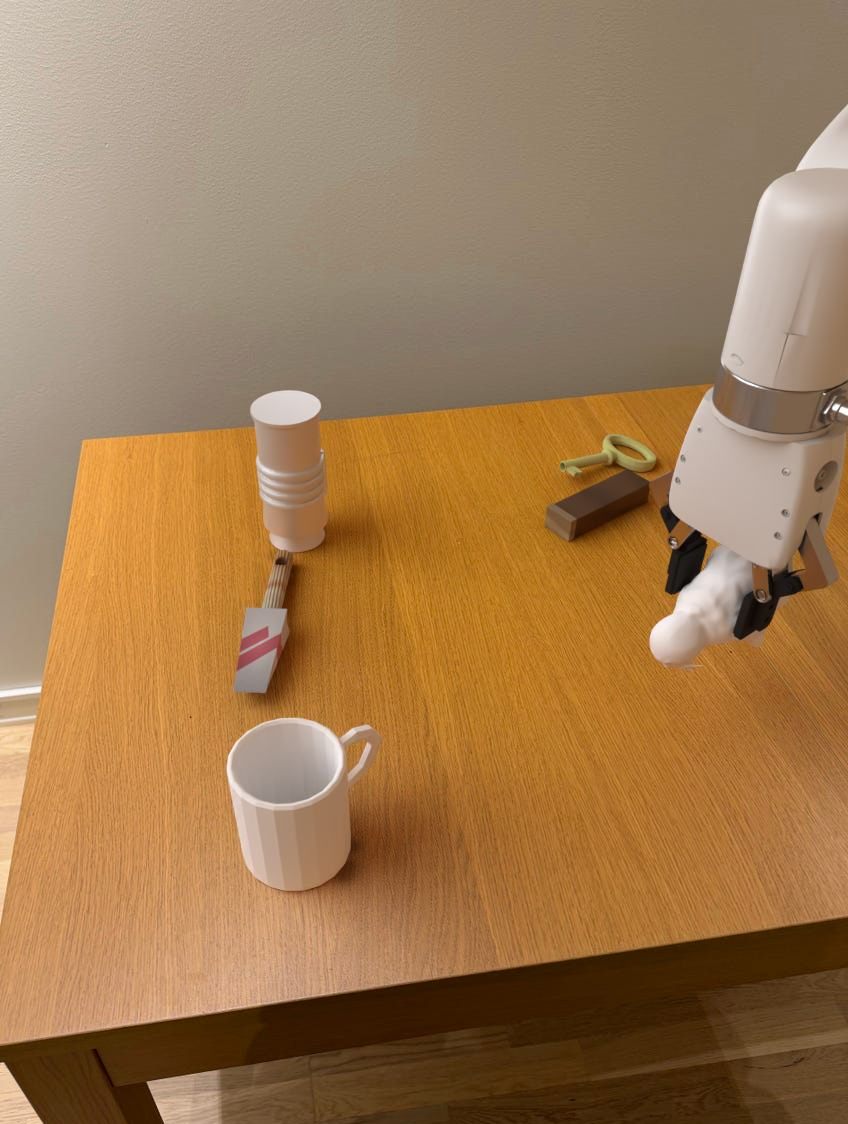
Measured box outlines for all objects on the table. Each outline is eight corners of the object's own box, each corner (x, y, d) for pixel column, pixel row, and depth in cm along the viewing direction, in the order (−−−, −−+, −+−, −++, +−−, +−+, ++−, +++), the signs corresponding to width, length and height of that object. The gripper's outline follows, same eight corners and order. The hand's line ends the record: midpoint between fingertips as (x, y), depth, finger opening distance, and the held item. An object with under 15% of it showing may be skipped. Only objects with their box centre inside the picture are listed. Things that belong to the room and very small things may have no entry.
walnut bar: (623, 487, 103) (627, 467, 101) (648, 502, 101) (652, 481, 99) (544, 525, 98) (546, 505, 96) (568, 542, 96) (571, 521, 94)
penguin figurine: (816, 547, 67) (702, 626, 63) (790, 629, 73) (685, 706, 69) (744, 508, 71) (632, 580, 67) (725, 588, 77) (622, 658, 73)
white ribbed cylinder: (340, 543, 96) (334, 414, 86) (279, 562, 94) (265, 432, 84) (314, 510, 101) (305, 383, 91) (255, 527, 99) (239, 400, 89)
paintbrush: (224, 678, 77) (265, 544, 93) (228, 702, 79) (268, 566, 94) (269, 680, 77) (303, 546, 92) (272, 704, 79) (305, 568, 94)
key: (553, 478, 104) (555, 462, 103) (614, 438, 111) (617, 422, 109) (607, 503, 101) (610, 486, 99) (667, 459, 107) (671, 443, 105)
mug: (413, 827, 70) (416, 741, 63) (280, 912, 65) (267, 829, 58) (351, 761, 75) (347, 675, 68) (223, 836, 69) (204, 751, 63)
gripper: (942, 425, 54) (845, 648, 66) (706, 328, 64) (660, 536, 77) (866, 470, 51) (779, 695, 63) (631, 360, 61) (596, 571, 74)
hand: (714, 606), depth 70 cm, fingers closed on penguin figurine, 5 cm apart
